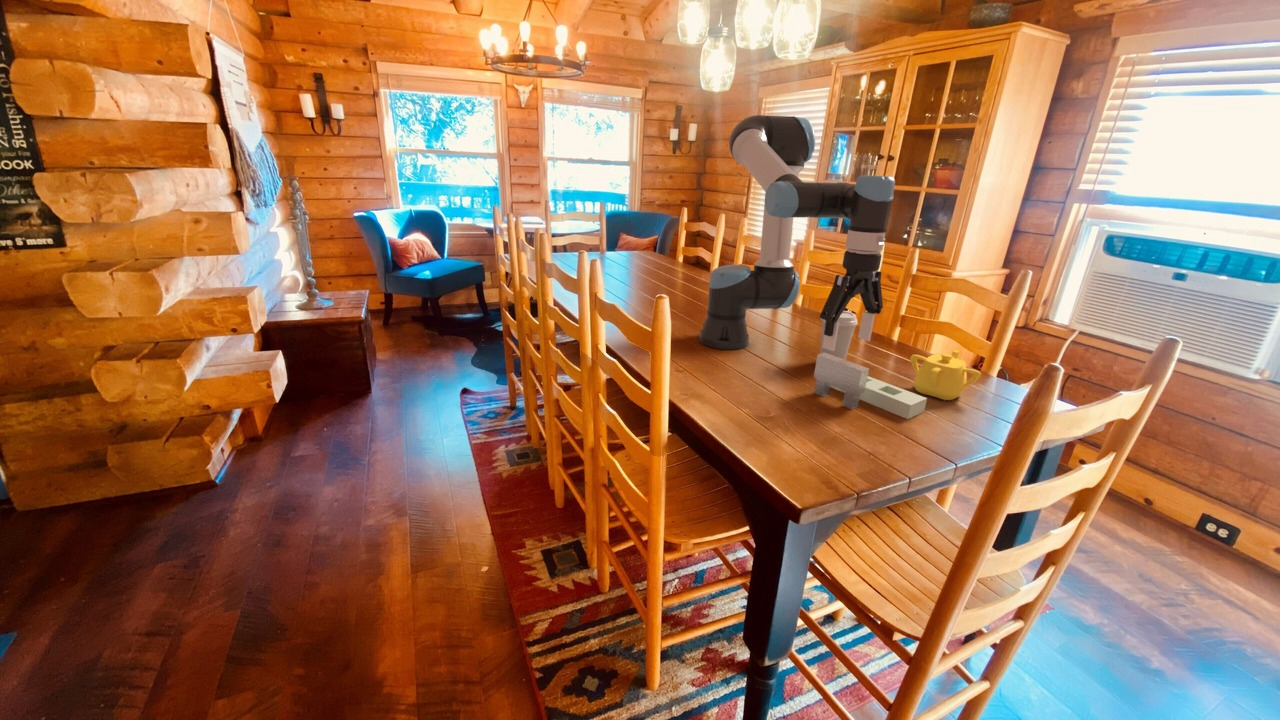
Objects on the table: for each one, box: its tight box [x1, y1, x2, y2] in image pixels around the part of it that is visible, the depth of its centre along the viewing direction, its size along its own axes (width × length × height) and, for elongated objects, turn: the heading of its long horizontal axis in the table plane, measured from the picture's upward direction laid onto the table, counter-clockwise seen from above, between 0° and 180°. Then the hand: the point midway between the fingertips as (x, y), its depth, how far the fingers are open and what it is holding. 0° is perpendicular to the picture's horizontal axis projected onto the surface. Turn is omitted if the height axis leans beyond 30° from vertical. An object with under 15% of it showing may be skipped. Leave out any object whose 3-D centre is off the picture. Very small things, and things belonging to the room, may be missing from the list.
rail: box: [830, 375, 928, 420], centre depth 127 cm, size 22×7×4 cm, turn 35°
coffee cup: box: [819, 310, 859, 360], centre depth 145 cm, size 10×10×15 cm
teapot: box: [910, 348, 982, 401], centre depth 131 cm, size 14×13×10 cm
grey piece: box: [813, 353, 870, 410], centre depth 124 cm, size 12×3×10 cm, turn 35°
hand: (846, 344), depth 121 cm, fingers open, 13 cm apart
